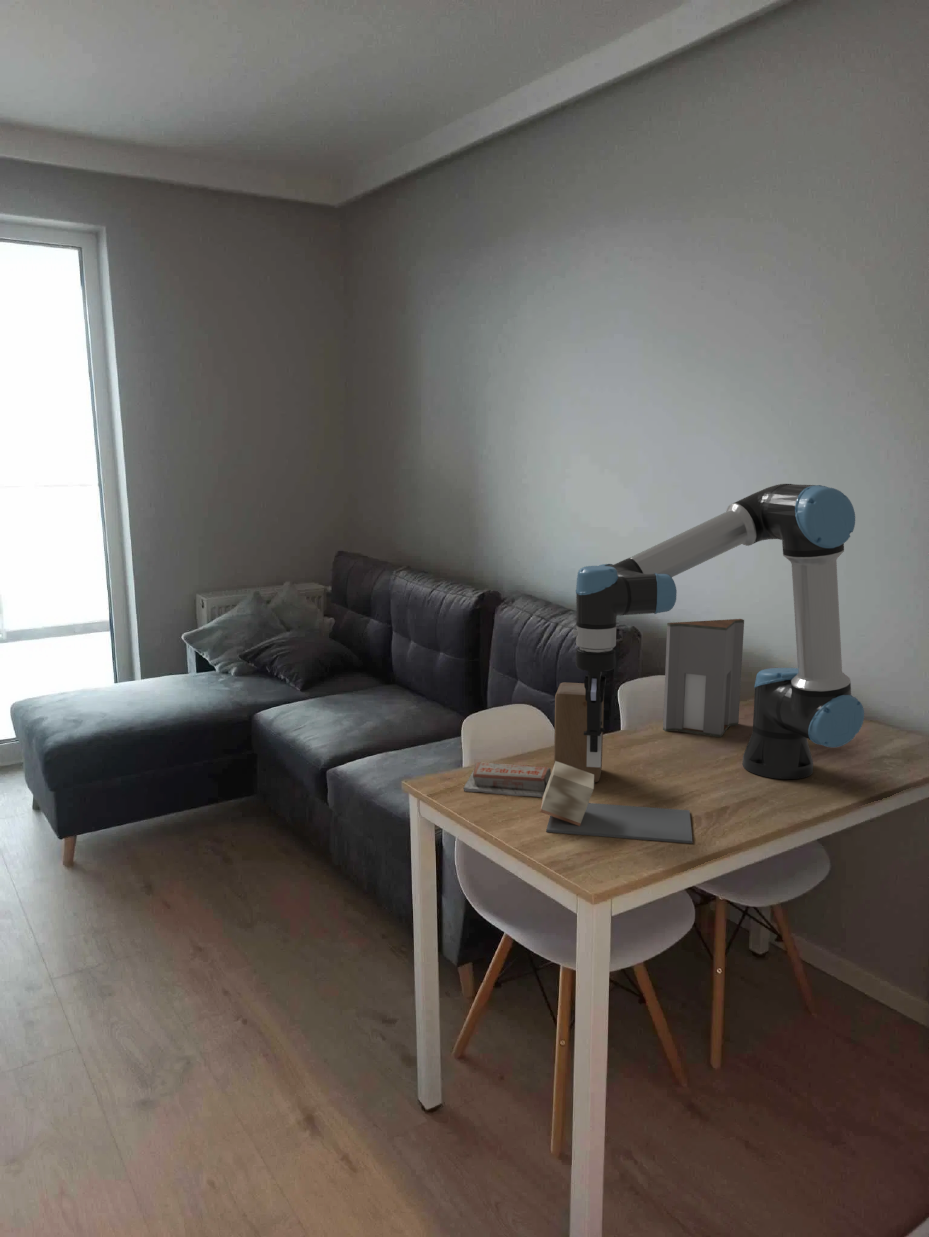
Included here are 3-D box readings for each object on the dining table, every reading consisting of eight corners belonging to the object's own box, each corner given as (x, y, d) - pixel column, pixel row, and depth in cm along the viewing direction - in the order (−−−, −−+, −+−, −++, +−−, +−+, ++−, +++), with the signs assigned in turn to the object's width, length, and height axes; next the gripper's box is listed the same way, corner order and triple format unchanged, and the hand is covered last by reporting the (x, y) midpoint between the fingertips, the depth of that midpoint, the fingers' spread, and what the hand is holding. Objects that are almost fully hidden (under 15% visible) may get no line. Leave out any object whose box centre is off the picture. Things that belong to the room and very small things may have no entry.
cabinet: (735, 723, 248) (740, 618, 243) (755, 734, 239) (762, 625, 234) (662, 729, 243) (667, 622, 237) (681, 741, 234) (686, 630, 228)
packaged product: (553, 762, 205) (547, 778, 195) (553, 783, 206) (547, 800, 196) (472, 756, 209) (462, 771, 199) (472, 777, 210) (462, 793, 200)
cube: (555, 760, 187) (542, 796, 189) (553, 774, 179) (540, 811, 181) (594, 774, 187) (580, 810, 188) (593, 789, 179) (579, 826, 181)
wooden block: (599, 784, 204) (601, 694, 200) (553, 781, 206) (554, 692, 202) (602, 768, 214) (604, 683, 210) (557, 765, 216) (559, 681, 212)
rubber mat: (689, 812, 188) (689, 810, 188) (692, 843, 174) (692, 840, 174) (554, 802, 194) (554, 800, 193) (546, 831, 179) (546, 829, 179)
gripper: (578, 639, 186) (576, 754, 191) (573, 654, 174) (571, 776, 178) (616, 641, 185) (614, 755, 189) (614, 656, 172) (612, 778, 177)
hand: (593, 765), depth 184 cm, fingers closed
